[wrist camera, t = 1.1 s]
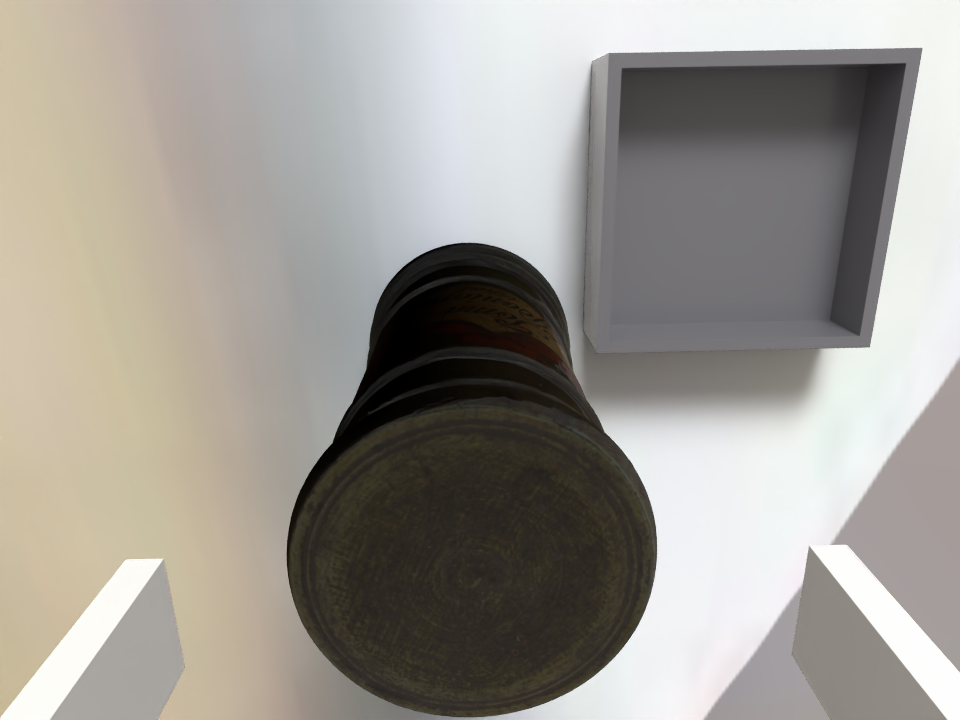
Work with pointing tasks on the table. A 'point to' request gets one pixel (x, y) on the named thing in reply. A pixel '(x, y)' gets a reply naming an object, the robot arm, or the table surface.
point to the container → (471, 503)
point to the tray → (742, 196)
